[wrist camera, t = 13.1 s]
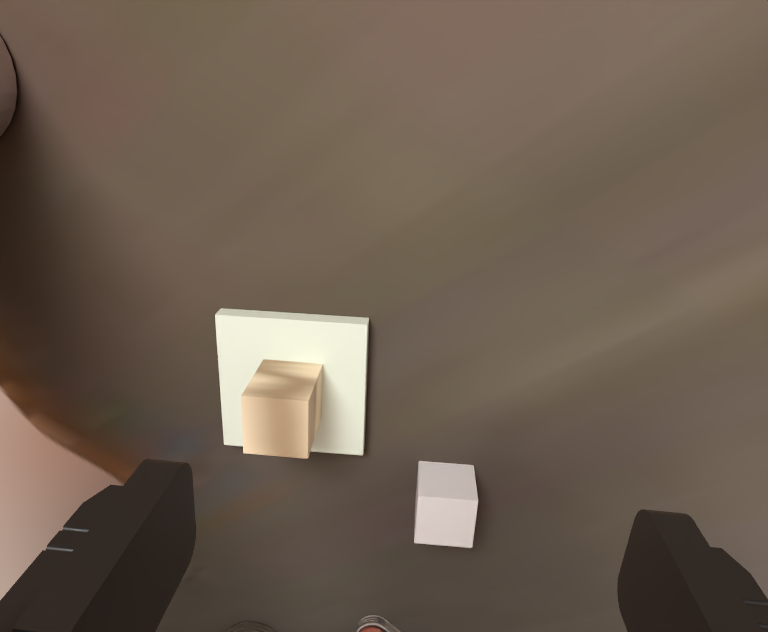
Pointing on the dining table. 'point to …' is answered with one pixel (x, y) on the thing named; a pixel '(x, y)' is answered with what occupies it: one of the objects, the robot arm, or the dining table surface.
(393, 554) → the dining table surface
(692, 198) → the dining table surface
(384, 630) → the lighter
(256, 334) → the plate
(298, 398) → the beech block
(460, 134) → the dining table surface
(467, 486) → the white block
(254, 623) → the metal tin
